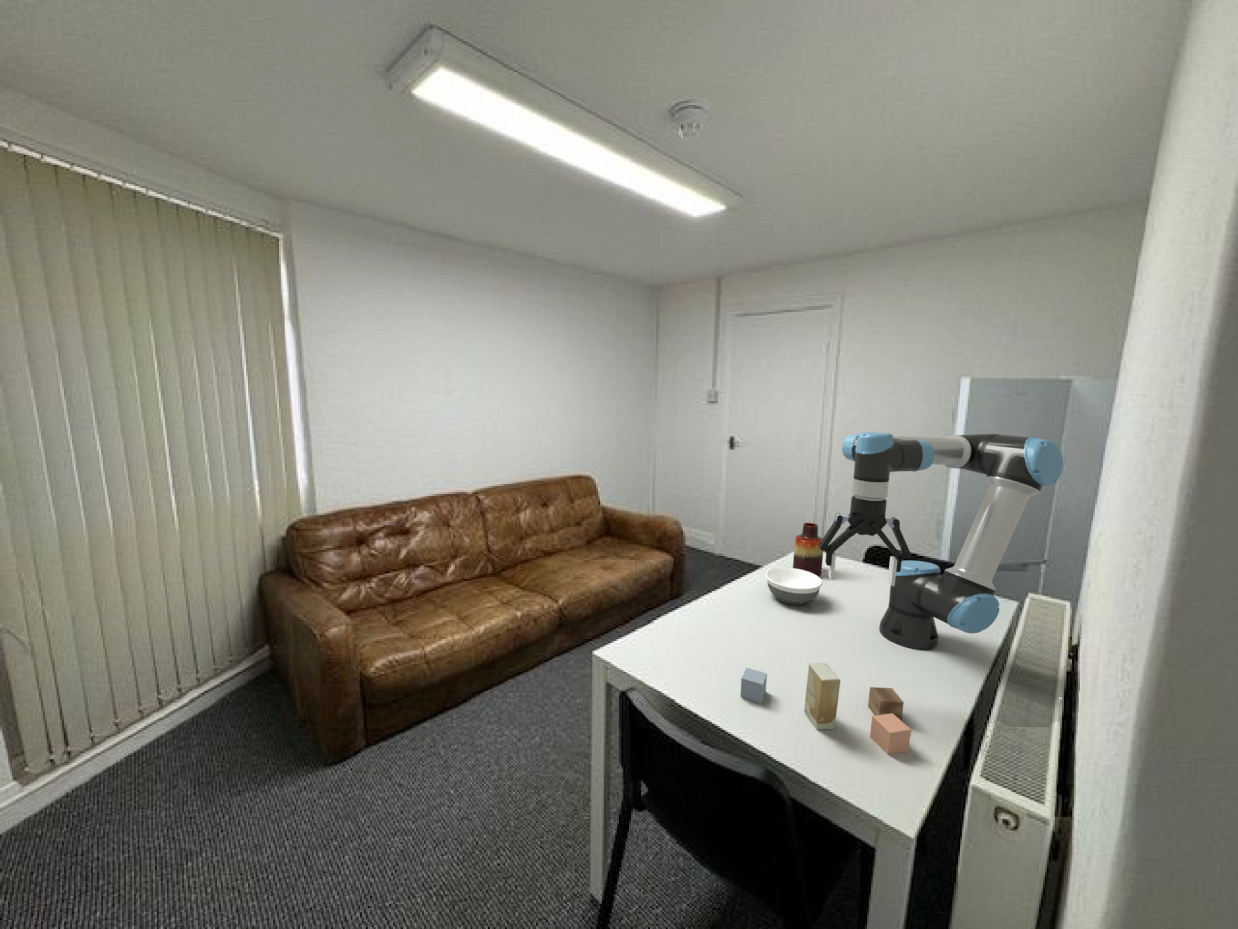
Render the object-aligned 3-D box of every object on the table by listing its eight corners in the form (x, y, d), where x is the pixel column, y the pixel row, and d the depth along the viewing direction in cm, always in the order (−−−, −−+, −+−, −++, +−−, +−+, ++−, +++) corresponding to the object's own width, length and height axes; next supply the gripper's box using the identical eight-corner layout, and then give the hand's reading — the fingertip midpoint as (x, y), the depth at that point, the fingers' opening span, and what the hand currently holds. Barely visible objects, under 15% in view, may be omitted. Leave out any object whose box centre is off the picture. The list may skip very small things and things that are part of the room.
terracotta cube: (889, 734, 103) (892, 713, 102) (908, 751, 98) (911, 729, 97) (869, 737, 101) (872, 716, 101) (887, 754, 97) (890, 732, 96)
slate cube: (765, 692, 116) (767, 673, 115) (761, 704, 112) (762, 684, 111) (745, 686, 118) (746, 667, 118) (740, 697, 114) (741, 678, 113)
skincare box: (803, 711, 109) (807, 662, 107) (821, 710, 110) (825, 661, 108) (817, 731, 103) (821, 679, 101) (836, 730, 103) (841, 679, 101)
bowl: (824, 596, 170) (826, 574, 169) (814, 617, 155) (816, 593, 153) (772, 584, 180) (773, 563, 179) (757, 602, 165) (759, 580, 163)
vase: (795, 577, 187) (799, 527, 184) (790, 567, 198) (793, 520, 194) (824, 579, 185) (828, 529, 182) (817, 569, 196) (821, 521, 193)
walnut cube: (889, 707, 111) (892, 688, 110) (901, 722, 106) (903, 702, 105) (867, 706, 111) (870, 687, 111) (878, 721, 106) (880, 701, 106)
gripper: (921, 496, 114) (911, 580, 118) (811, 490, 120) (804, 570, 124) (933, 504, 107) (922, 592, 111) (816, 496, 113) (809, 581, 116)
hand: (860, 581), depth 117 cm, fingers open, 13 cm apart
